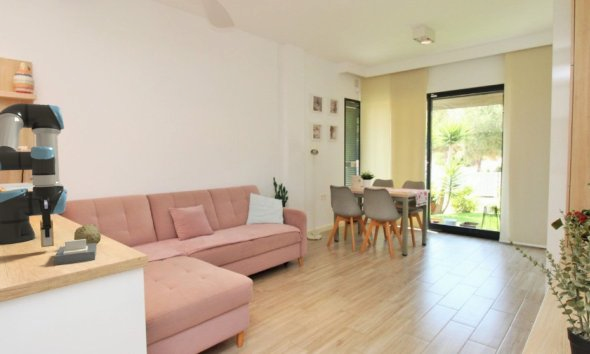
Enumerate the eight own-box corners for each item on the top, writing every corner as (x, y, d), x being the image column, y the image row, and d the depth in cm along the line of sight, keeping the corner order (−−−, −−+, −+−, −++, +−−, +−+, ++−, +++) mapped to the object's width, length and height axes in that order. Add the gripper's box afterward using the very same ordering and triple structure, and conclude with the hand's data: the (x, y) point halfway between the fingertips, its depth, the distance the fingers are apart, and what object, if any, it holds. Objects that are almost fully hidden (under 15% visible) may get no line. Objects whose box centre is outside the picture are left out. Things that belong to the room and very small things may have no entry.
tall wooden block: (41, 245, 135) (39, 220, 134) (53, 243, 137) (52, 219, 137) (41, 247, 132) (40, 222, 131) (54, 245, 134) (52, 221, 134)
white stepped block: (65, 250, 125) (65, 239, 125) (87, 247, 128) (87, 237, 128) (63, 254, 119) (62, 243, 119) (86, 252, 122) (86, 241, 122)
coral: (109, 227, 147) (89, 222, 139) (100, 250, 144) (79, 246, 136) (94, 224, 151) (74, 219, 142) (85, 246, 148) (64, 242, 139)
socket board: (60, 254, 130) (60, 246, 130) (96, 250, 136) (96, 242, 136) (54, 264, 117) (54, 256, 117) (94, 259, 123) (94, 251, 123)
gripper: (32, 184, 137) (35, 240, 139) (32, 188, 124) (36, 250, 126) (54, 183, 142) (57, 238, 144) (57, 186, 128) (60, 247, 130)
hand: (47, 243), depth 135 cm, fingers closed on tall wooden block, 4 cm apart
